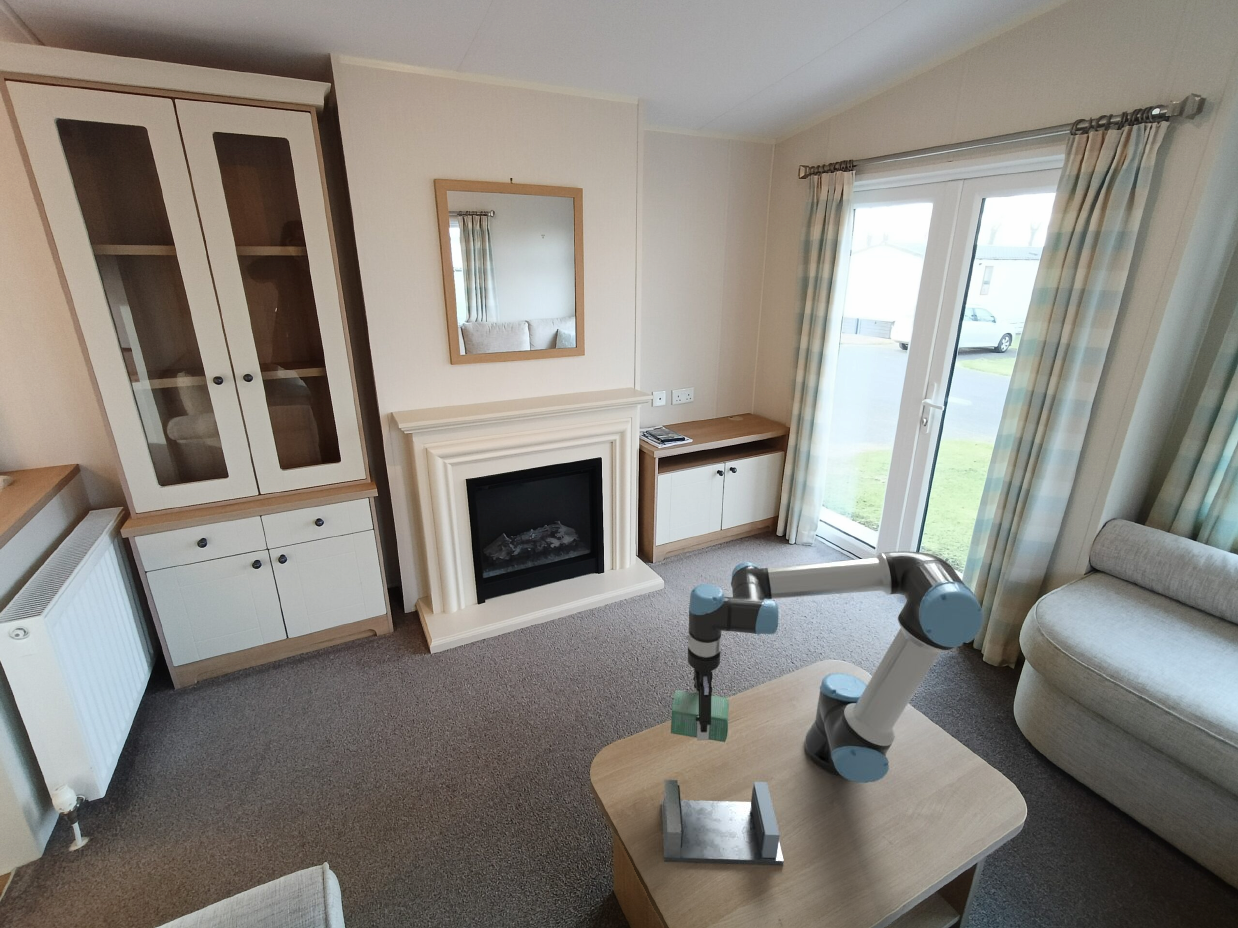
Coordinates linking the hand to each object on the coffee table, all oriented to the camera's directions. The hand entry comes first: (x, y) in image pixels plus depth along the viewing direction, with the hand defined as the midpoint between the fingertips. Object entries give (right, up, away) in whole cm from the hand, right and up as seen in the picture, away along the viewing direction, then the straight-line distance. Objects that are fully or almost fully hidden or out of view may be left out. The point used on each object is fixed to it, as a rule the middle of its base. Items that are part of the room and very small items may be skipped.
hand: (700, 724), depth 139 cm
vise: (+3, -21, -8) cm, 23 cm away
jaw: (+13, -20, -9) cm, 25 cm away
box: (0, -1, 0) cm, 1 cm away
